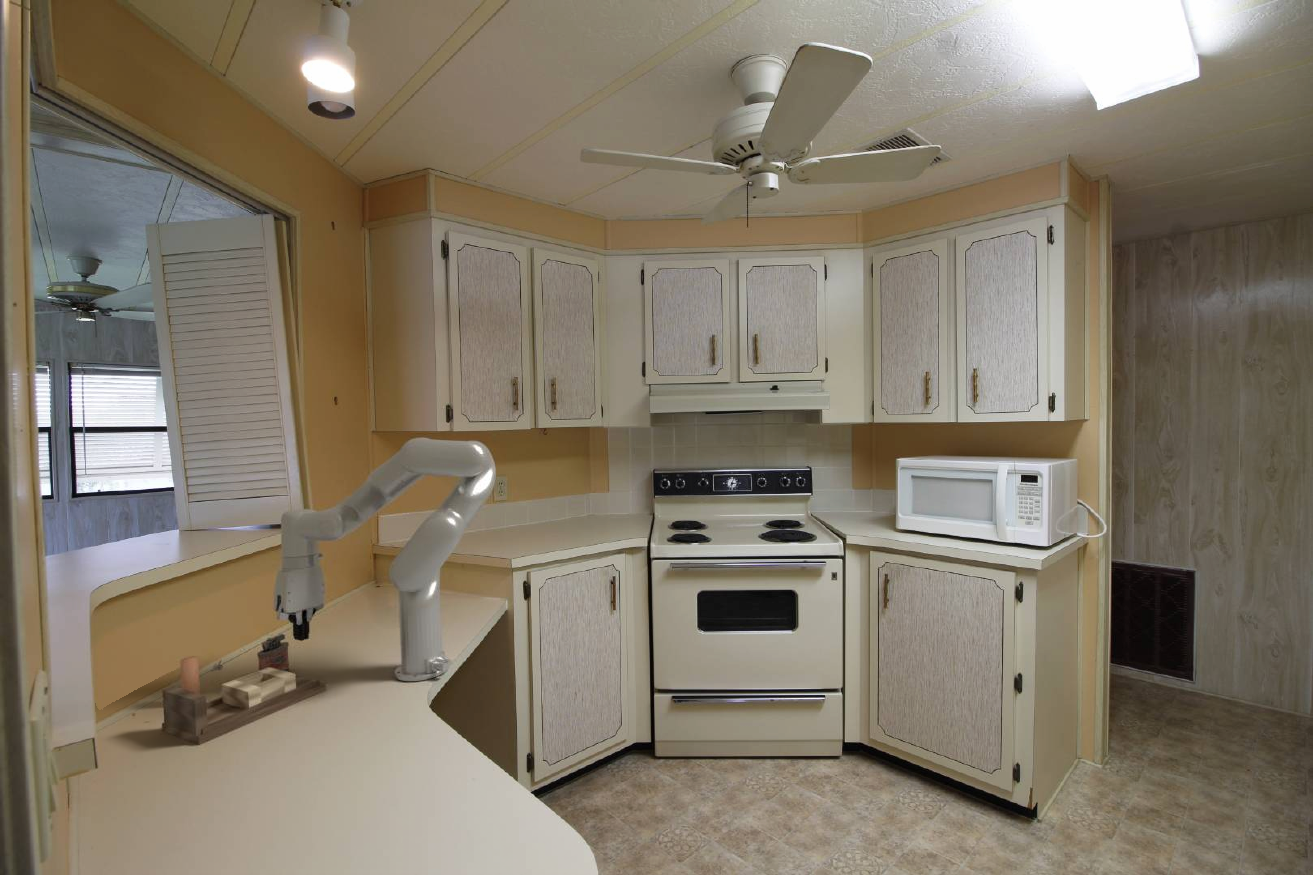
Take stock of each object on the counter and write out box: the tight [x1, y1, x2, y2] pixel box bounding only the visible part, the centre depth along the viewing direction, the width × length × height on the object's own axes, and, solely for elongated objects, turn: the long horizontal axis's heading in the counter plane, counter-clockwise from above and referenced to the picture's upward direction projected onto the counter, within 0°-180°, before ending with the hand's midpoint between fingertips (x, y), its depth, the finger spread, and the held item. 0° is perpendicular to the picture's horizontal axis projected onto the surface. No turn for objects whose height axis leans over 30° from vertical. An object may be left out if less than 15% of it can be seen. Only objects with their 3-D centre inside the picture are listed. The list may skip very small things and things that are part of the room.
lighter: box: [257, 633, 291, 673], centre depth 147 cm, size 8×3×10 cm, turn 168°
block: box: [221, 667, 296, 709], centre depth 133 cm, size 10×10×4 cm
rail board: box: [161, 675, 327, 746], centre depth 131 cm, size 14×26×8 cm, turn 153°
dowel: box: [179, 655, 201, 695], centre depth 135 cm, size 3×3×10 cm
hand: (301, 638), depth 142 cm, fingers closed
